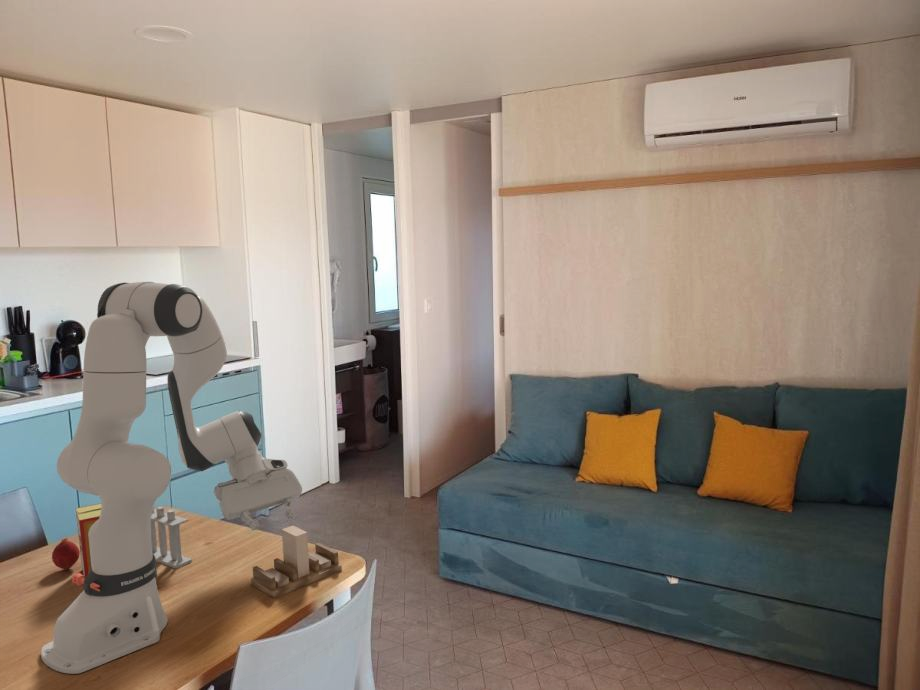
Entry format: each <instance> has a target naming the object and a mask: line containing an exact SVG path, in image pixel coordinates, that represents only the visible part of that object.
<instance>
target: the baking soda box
mask: <svg viewBox="0 0 920 690" xmlns="http://www.w3.org/2000/svg"><path fill="white" fill-rule="evenodd" d="M101 506H102V503H101V502H100V503H95V504H91V505H86V506H80V507H75V515H76V523H77V525H76V526H77V532H78V533H77V535H78V536H77V537H78V545H79V552H80V555H79V556H80V563H81V564H80V565H81V570H82V571H83V572H82V575H84V576H86V577H87V575H88V573H89V570H90V568H91V557H90V547H89V537H88V533H89V530H90V528H91V526H92V525H93V524H94V523H95V522H96V521H97V520H99V517H100V513H101Z"/></svg>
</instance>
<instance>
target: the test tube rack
mask: <svg viewBox="0 0 920 690" xmlns="http://www.w3.org/2000/svg"><path fill="white" fill-rule="evenodd" d="M154 507H155V506H154ZM154 507H153V511H152V516H151V540H152V554H153V555H154V556H155V561H156V563H160V564H162V565H165V566H168V567H170V568H173V569H175V570H176V569H179V568H181V567H184V566H186V565H188V564H190V563H192V561H193V560H192V558H190V557H186V556H184V555H183V554H182V547H181V545H182V544H181V534H180V533H181V532H180V527H181V525H182V524H184V523H187V522H188V521H189V519H187V518H184V517H183V516H182V517H181V516H178V515H176V512H175V510H173V509H169V510H167V512H165V508H164V506H157V507H156V508H154ZM156 523H157V529H156ZM166 526H167V529H168V539H167V529H166ZM157 532H158V539H157ZM157 540H158V542H157ZM168 540H169V549H170V550H168V543H167V542H168ZM157 543H159V546H158V544H157Z"/></svg>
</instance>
